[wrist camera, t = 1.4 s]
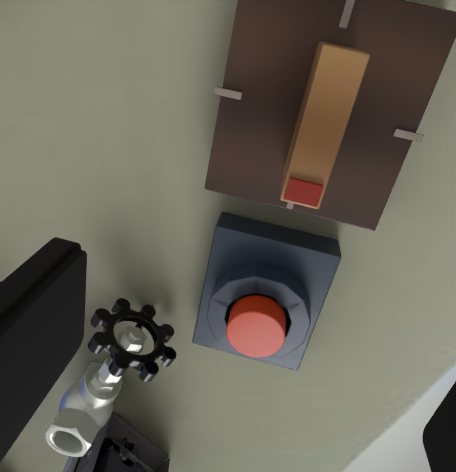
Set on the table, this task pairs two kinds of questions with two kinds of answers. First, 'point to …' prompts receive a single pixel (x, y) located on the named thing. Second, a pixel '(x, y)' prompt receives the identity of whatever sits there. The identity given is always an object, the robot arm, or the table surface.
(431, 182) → the table surface
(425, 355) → the table surface
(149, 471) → the electrical switch
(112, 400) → the valve
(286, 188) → the oak handle
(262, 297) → the red button
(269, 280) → the button box
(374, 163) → the handle panel
